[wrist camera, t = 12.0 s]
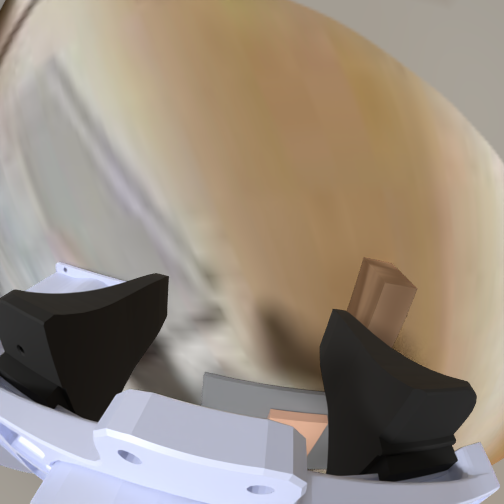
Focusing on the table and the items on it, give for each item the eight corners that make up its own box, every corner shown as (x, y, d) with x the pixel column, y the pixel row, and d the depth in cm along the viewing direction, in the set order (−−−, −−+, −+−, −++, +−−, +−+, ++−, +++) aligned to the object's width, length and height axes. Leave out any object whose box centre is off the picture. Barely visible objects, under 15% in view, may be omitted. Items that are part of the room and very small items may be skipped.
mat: (198, 450, 30) (197, 453, 29) (204, 372, 25) (203, 375, 24) (340, 466, 29) (340, 469, 28) (394, 395, 24) (395, 398, 23)
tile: (270, 407, 25) (254, 449, 28) (269, 417, 24) (253, 457, 26) (326, 413, 25) (302, 454, 27) (328, 423, 23) (302, 462, 26)
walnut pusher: (327, 360, 23) (334, 399, 18) (363, 256, 20) (385, 282, 15) (352, 362, 23) (363, 400, 18) (391, 262, 20) (417, 288, 15)
